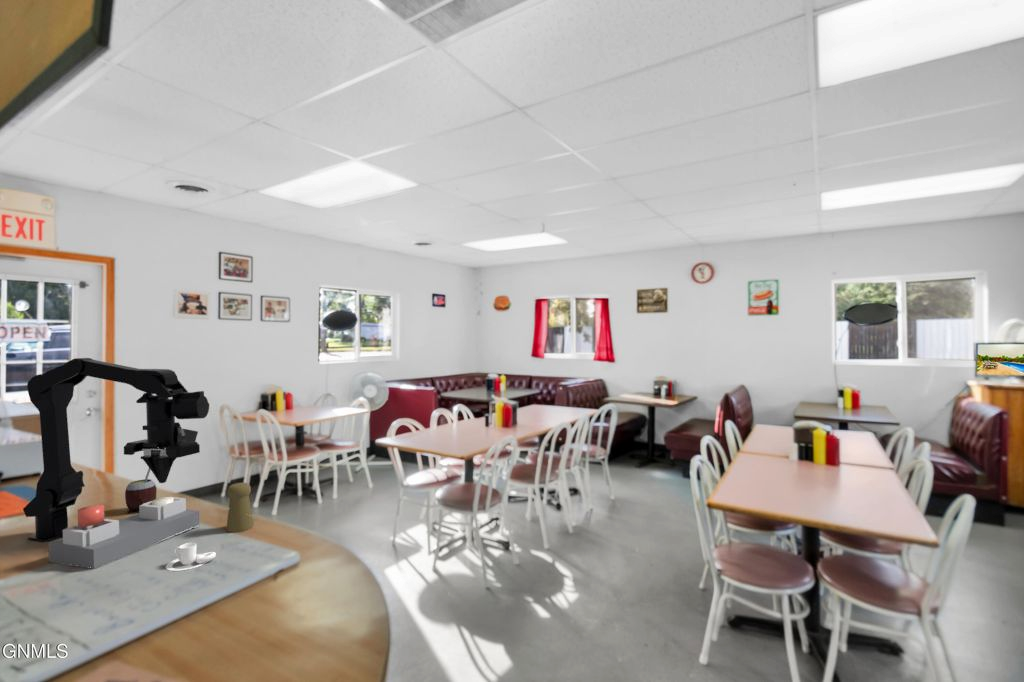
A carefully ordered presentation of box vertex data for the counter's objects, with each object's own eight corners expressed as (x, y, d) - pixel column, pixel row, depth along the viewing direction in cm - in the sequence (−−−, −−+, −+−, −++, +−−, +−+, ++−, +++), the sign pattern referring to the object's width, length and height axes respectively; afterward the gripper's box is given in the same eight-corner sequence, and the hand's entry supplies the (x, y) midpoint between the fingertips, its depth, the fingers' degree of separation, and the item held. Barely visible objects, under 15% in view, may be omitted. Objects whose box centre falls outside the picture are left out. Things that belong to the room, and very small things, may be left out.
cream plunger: (147, 514, 122) (147, 501, 122) (165, 508, 127) (165, 496, 127) (161, 516, 121) (160, 503, 121) (178, 510, 125) (177, 497, 125)
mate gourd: (124, 510, 140) (123, 457, 140) (158, 503, 145) (157, 452, 145) (127, 516, 134) (125, 461, 134) (162, 509, 140) (161, 456, 140)
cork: (241, 533, 120) (240, 487, 120) (220, 531, 122) (219, 486, 122) (259, 523, 126) (258, 480, 126) (238, 522, 127) (237, 480, 127)
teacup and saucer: (222, 559, 107) (222, 540, 107) (187, 576, 99) (187, 555, 99) (192, 554, 110) (192, 535, 110) (156, 570, 102) (155, 550, 102)
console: (49, 561, 107) (48, 528, 107) (158, 521, 130) (158, 494, 130) (94, 569, 103) (93, 535, 103) (199, 526, 125) (198, 498, 125)
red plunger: (73, 525, 107) (72, 510, 107) (95, 518, 111) (95, 504, 111) (86, 527, 106) (86, 512, 106) (109, 520, 110) (108, 505, 110)
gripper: (217, 415, 129) (219, 476, 129) (164, 414, 134) (166, 472, 134) (176, 423, 118) (178, 488, 118) (121, 421, 124) (123, 483, 124)
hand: (162, 482), depth 124 cm, fingers closed
